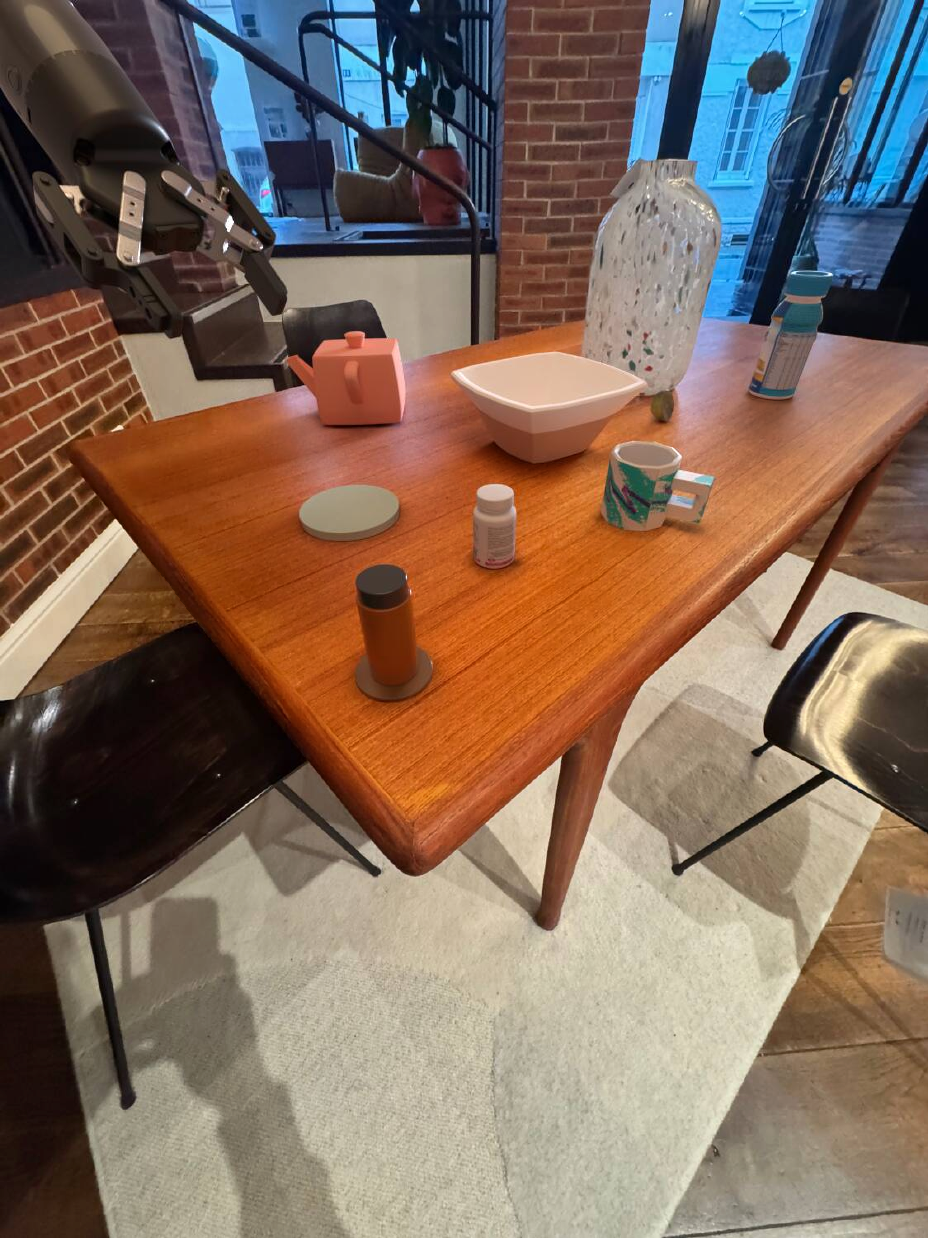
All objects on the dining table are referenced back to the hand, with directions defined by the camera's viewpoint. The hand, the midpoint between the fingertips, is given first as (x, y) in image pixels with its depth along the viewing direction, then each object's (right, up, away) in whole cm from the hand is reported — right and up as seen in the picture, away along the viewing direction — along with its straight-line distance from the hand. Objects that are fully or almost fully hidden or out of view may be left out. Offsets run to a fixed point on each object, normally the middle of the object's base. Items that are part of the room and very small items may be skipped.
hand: (232, 318), depth 37 cm
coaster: (+10, -26, +10) cm, 30 cm away
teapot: (-4, +16, +61) cm, 63 cm away
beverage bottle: (+77, +23, +65) cm, 103 cm away
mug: (+41, -9, +30) cm, 51 cm away
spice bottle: (+10, -26, +10) cm, 30 cm away
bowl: (+29, +7, +48) cm, 57 cm away
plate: (+2, -8, +32) cm, 33 cm away
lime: (+52, +14, +56) cm, 78 cm away
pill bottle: (+20, -15, +24) cm, 34 cm away
